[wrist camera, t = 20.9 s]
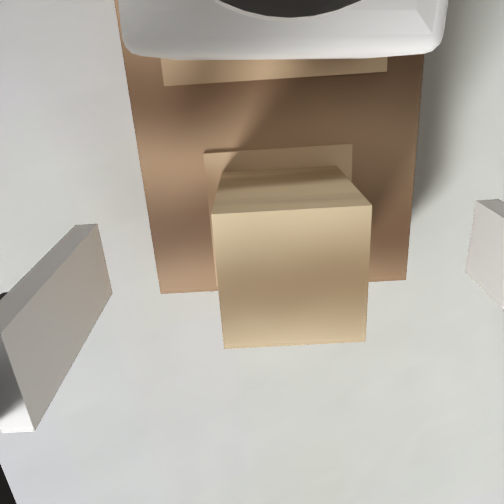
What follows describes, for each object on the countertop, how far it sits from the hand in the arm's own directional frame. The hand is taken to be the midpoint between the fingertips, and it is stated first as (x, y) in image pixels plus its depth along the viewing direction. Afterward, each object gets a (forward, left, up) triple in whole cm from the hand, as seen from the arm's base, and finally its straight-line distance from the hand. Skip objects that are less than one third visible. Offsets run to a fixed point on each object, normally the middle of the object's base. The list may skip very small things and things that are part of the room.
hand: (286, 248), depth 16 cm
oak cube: (+1, 0, -5) cm, 5 cm away
